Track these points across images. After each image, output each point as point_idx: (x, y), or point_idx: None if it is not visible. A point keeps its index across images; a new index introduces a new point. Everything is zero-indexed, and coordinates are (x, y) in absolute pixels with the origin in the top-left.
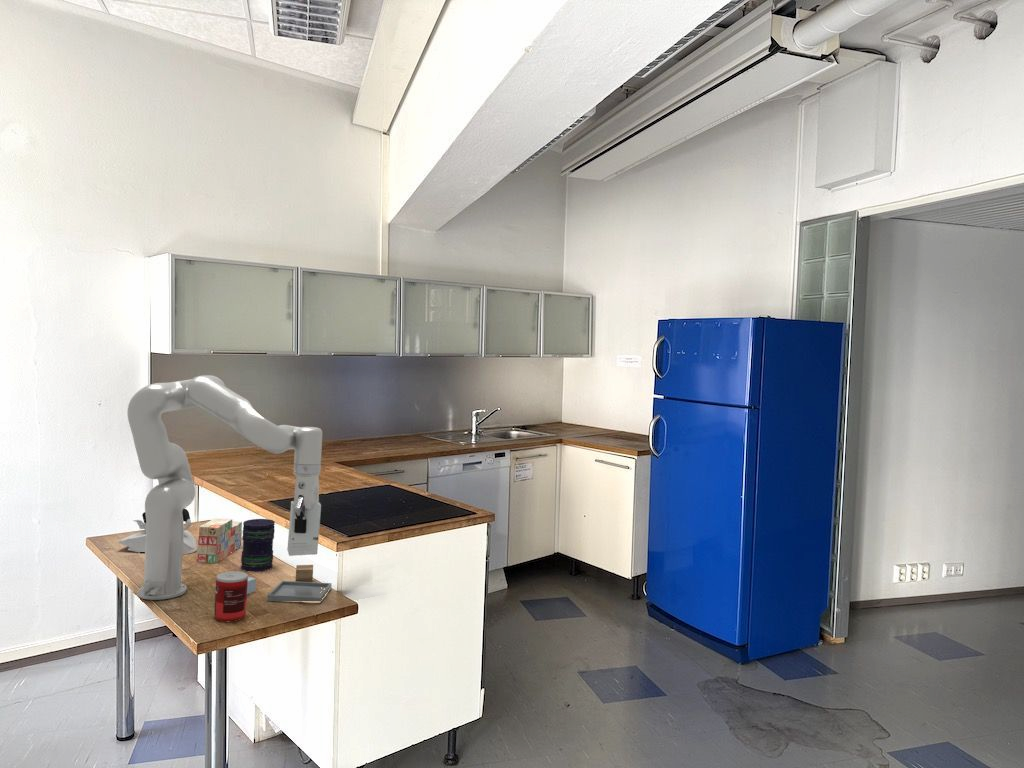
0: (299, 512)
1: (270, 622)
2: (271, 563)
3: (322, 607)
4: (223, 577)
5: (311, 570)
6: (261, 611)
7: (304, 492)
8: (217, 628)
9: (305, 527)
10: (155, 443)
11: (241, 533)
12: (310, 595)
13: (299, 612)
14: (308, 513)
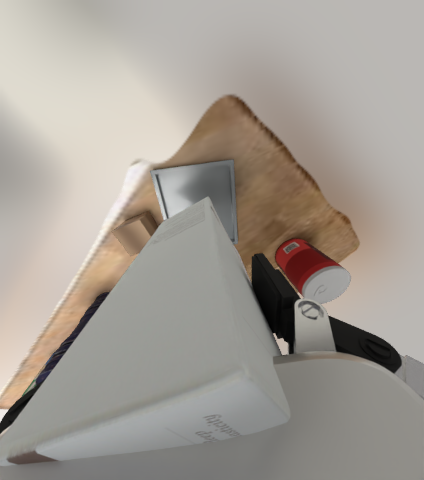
0: (422, 366)
1: (309, 201)
2: (105, 297)
3: (245, 148)
4: (327, 293)
5: (142, 221)
6: (271, 229)
7: None
8: (324, 247)
9: (271, 267)
10: None
11: (39, 373)
12: (209, 188)
13: (271, 178)
14: (266, 331)
